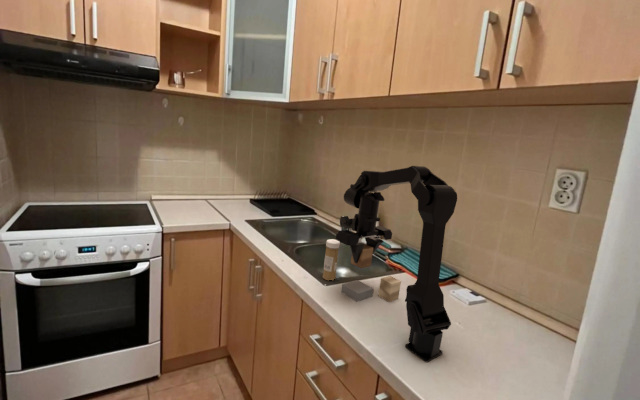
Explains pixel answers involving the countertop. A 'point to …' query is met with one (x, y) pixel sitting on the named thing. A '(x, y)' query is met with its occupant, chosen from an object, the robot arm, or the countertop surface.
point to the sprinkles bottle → (331, 259)
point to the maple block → (389, 288)
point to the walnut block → (364, 257)
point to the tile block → (357, 290)
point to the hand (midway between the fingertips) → (361, 261)
